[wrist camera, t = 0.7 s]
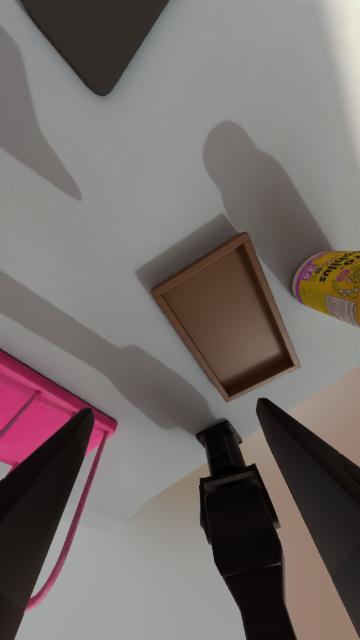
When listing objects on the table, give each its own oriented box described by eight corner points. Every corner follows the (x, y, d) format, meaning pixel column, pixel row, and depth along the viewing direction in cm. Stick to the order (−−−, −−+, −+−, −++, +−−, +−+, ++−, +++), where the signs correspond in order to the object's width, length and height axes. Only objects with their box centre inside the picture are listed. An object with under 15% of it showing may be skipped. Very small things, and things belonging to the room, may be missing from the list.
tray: (291, 358, 26) (301, 367, 24) (222, 392, 27) (226, 403, 25) (239, 233, 19) (247, 231, 17) (151, 288, 21) (150, 292, 19)
